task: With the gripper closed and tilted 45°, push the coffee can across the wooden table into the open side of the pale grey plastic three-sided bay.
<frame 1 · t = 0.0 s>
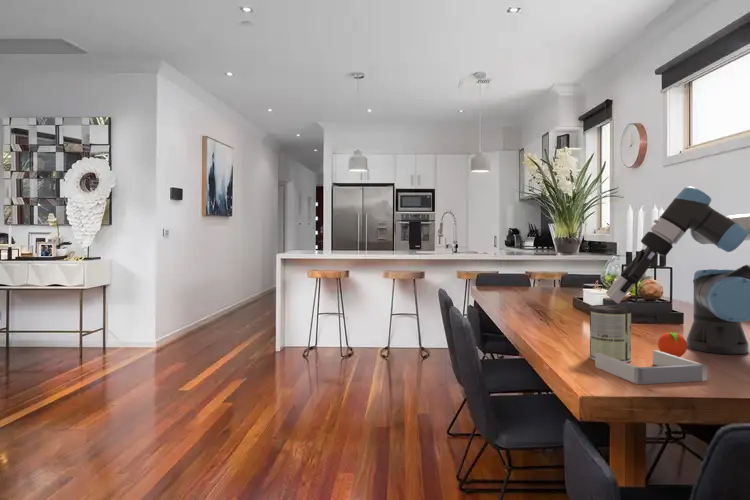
hand: (611, 298, 149), 15 cm above the table, tool tilted 35°, fingers open, 13 cm apart
tomato: (672, 358, 141), on the table
bay: (646, 372, 126), on the table
coffee can: (610, 360, 140), on the table
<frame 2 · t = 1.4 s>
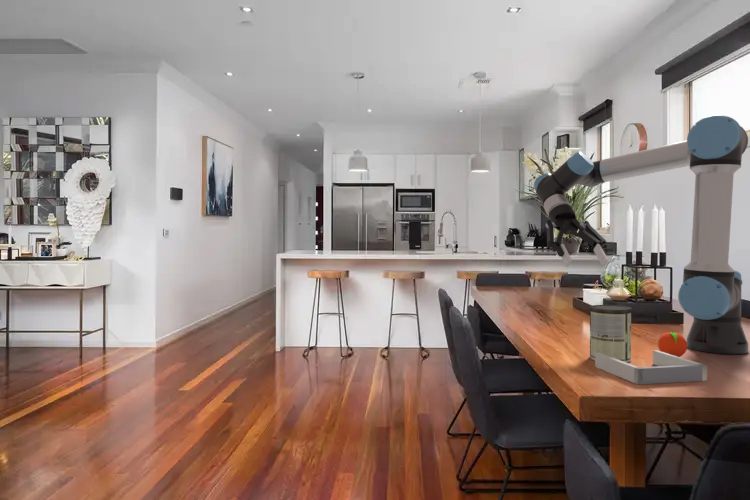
hand: (587, 263, 150), 25 cm above the table, tool tilted 45°, fingers open, 11 cm apart
nothing on the table moved.
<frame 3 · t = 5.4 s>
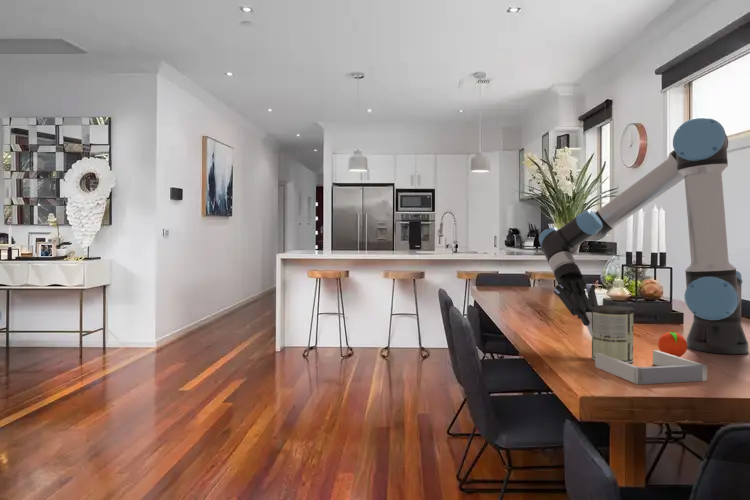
hand: (596, 334, 145), 6 cm above the table, tool tilted 45°, fingers closed
coffee can: (612, 360, 139), on the table, touching gripper
everything else where it was.
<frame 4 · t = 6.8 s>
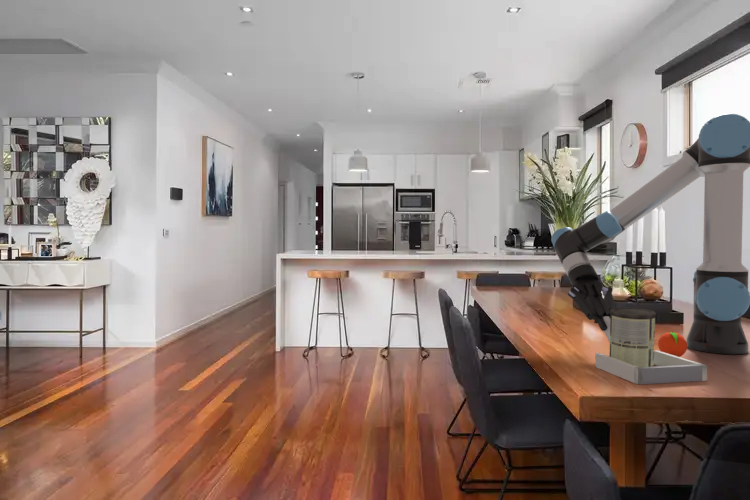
hand: (614, 339, 137), 6 cm above the table, tool tilted 45°, fingers closed
coffee can: (630, 367, 132), on the table, touching gripper
everything else where it was.
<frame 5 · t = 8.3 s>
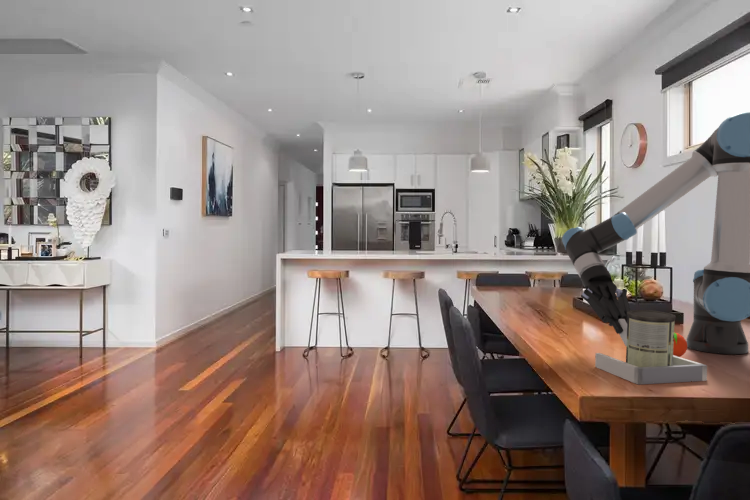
hand: (630, 343, 132), 6 cm above the table, tool tilted 45°, fingers closed
coffee can: (648, 371, 127), on the table, touching gripper
everything else where it was.
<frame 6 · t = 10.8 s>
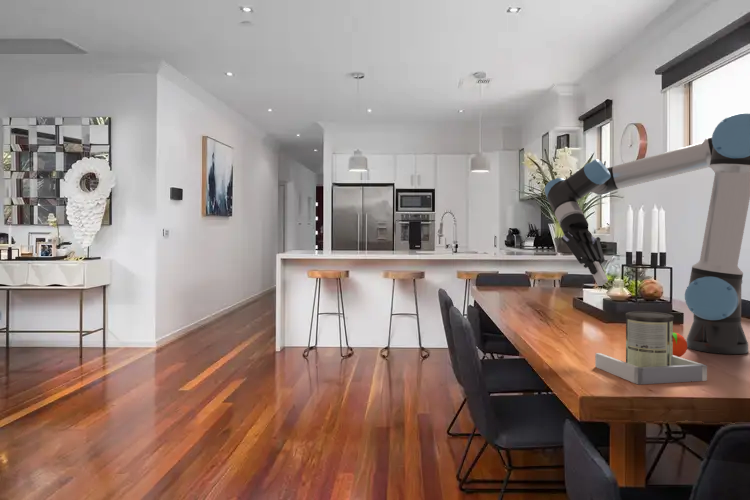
hand: (602, 282, 145), 20 cm above the table, tool tilted 40°, fingers closed
coffee can: (648, 372, 127), on the table
everything else where it was.
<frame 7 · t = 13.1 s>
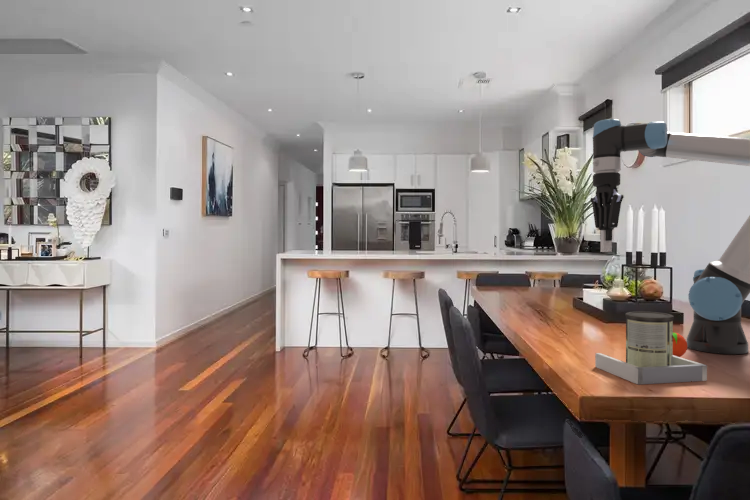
hand: (606, 251, 156), 28 cm above the table, tool pointing down, fingers closed
nothing on the table moved.
at the end: coffee can 1.2 cm from the bay (horizontally); coffee can tilted 0° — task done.
